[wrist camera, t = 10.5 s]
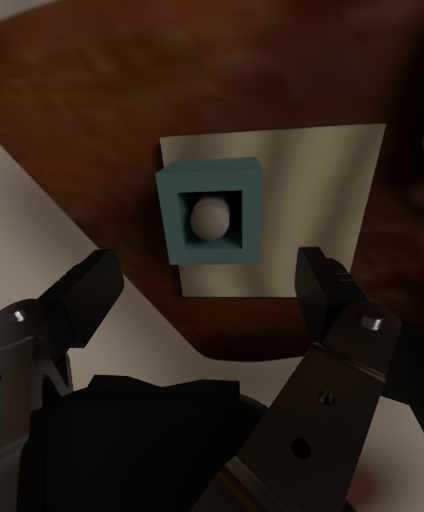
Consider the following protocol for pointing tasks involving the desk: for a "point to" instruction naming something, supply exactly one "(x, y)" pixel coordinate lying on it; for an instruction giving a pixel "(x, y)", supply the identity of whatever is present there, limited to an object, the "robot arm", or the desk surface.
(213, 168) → the teal square frame
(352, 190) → the post board
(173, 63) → the desk surface
